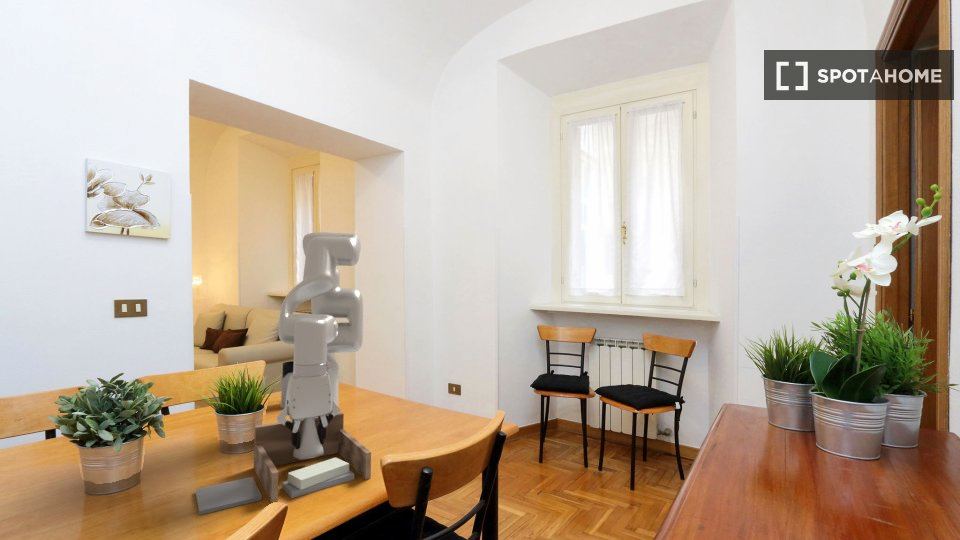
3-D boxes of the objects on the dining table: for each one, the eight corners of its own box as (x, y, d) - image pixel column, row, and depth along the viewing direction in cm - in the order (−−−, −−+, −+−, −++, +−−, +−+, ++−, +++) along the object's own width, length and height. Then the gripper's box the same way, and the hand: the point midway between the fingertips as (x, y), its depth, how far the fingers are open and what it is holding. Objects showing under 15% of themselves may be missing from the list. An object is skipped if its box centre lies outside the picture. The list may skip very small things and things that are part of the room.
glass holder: (280, 409, 159) (281, 365, 160) (279, 399, 172) (280, 359, 172) (307, 406, 163) (307, 364, 163) (304, 397, 176) (305, 357, 176)
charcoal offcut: (282, 491, 101) (282, 482, 101) (342, 473, 110) (342, 465, 110) (292, 501, 96) (292, 492, 96) (354, 482, 105) (354, 473, 105)
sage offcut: (287, 482, 100) (287, 472, 100) (335, 465, 110) (335, 457, 110) (300, 489, 97) (301, 480, 97) (349, 472, 106) (349, 463, 106)
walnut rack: (253, 467, 111) (254, 426, 111) (340, 449, 123) (341, 412, 123) (271, 503, 94) (272, 453, 94) (370, 478, 106) (371, 434, 106)
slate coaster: (195, 492, 98) (195, 489, 98) (252, 480, 104) (252, 476, 104) (199, 515, 89) (199, 510, 89) (261, 499, 95) (261, 496, 95)
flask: (318, 446, 116) (319, 406, 116) (328, 455, 111) (329, 414, 111) (288, 452, 112) (289, 411, 112) (297, 463, 106) (298, 420, 106)
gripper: (340, 363, 119) (338, 433, 119) (268, 370, 109) (267, 446, 109) (350, 368, 113) (348, 442, 113) (275, 377, 103) (274, 458, 103)
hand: (308, 443), depth 111 cm, fingers closed on flask, 4 cm apart
